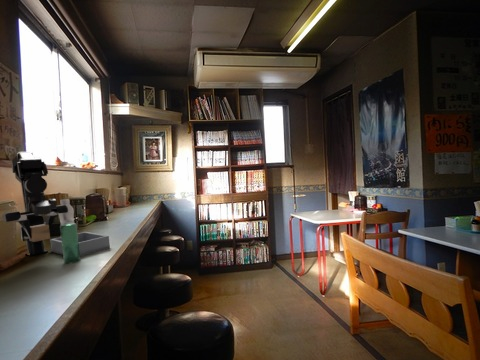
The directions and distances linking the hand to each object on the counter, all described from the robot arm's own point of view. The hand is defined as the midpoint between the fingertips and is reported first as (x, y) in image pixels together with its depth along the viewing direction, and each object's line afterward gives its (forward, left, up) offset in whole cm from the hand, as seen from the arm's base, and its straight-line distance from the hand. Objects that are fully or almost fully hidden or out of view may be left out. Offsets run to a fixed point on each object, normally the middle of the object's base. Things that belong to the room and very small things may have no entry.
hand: (39, 236), depth 105 cm
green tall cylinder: (+11, +6, -9) cm, 15 cm away
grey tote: (-4, +15, -9) cm, 18 cm away
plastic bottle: (-28, +19, -10) cm, 35 cm away
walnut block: (0, 0, -1) cm, 1 cm away
